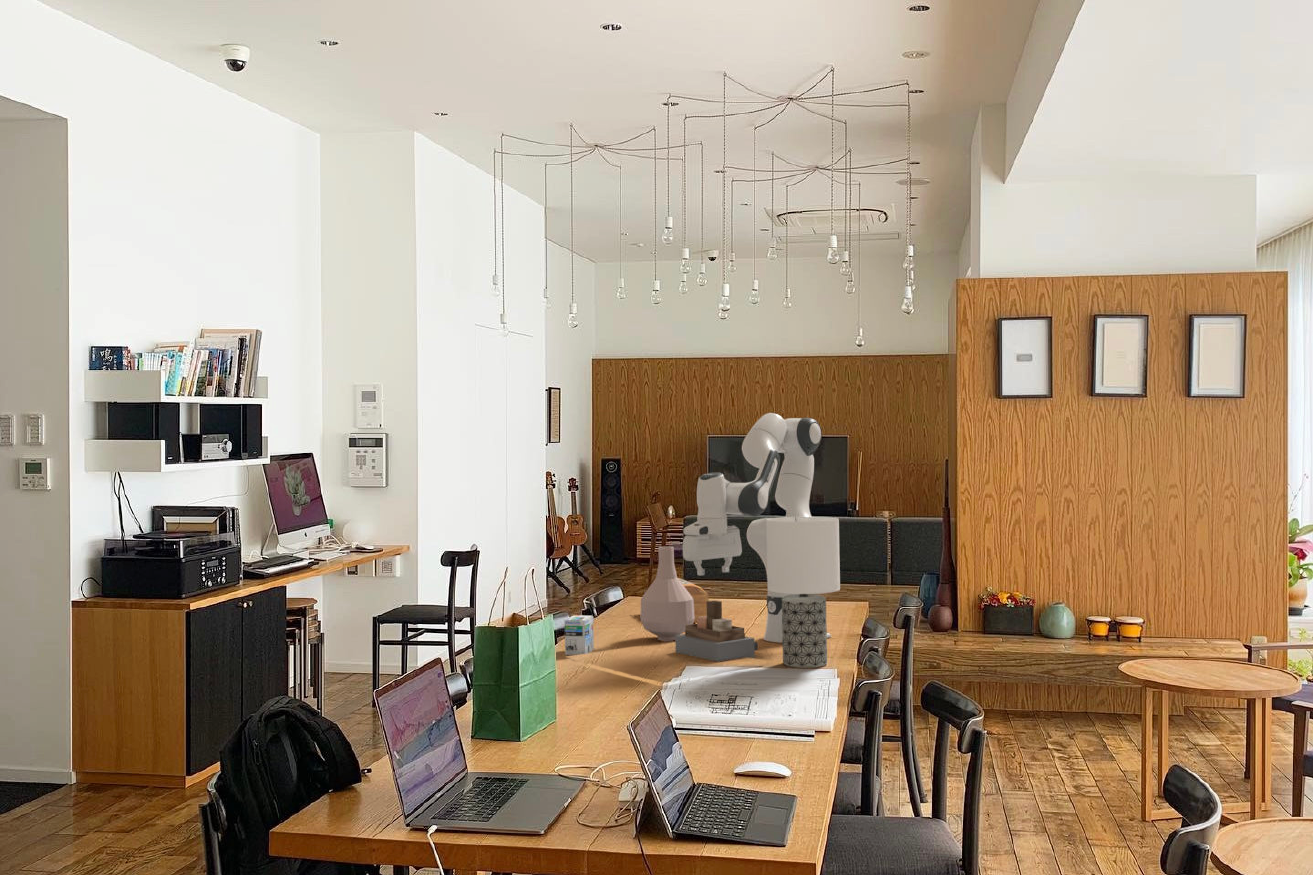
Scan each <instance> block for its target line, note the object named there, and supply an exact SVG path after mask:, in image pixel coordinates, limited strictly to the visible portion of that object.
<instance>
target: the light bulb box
mask: <svg viewBox="0 0 1313 875" xmlns="http://www.w3.org/2000/svg"><path fill="white" fill-rule="evenodd" d="M594 636H595V634H594V616H593V615H582V614H581V615H579V614H578V615H577V614H575V615H574V614H573V615H572V616H569V617H567V618H566V619H564V655H565V656H578V655H586V654H589V653H591V652H593V651H594V650H595V648H594V647H595V643H594V642H595V641H594V639H595V638H594ZM593 649H594V650H593ZM592 650H593V651H592Z"/></svg>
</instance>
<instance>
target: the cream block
mask: <svg viewBox="0 0 1313 875" xmlns="http://www.w3.org/2000/svg"><path fill="white" fill-rule="evenodd" d="M712 621H713V630H714V631H725V630H732V626H733V625H732V619H730V618H723V617H722V618H721V619H714V620H712Z"/></svg>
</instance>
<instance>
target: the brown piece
mask: <svg viewBox="0 0 1313 875" xmlns="http://www.w3.org/2000/svg"><path fill="white" fill-rule="evenodd" d="M722 604H723V603H722V601H720V600H709V601H707V629H704V628H699V627H697V624H691V625H686V626H685V627H686V630H685V632H684V634H685V635H686V636H691V637H696V638H701V639H705V640H710V641H715V642H723V641H730V640H737V639H743V638H745V637H746V633H745V628H744V627H741V626H735V625H732V630H725V631H714V630H713V621H712V620H714V619H721V618H723V610H722V609H723V607H722V606H723V605H722Z"/></svg>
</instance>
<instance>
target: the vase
mask: <svg viewBox="0 0 1313 875" xmlns="http://www.w3.org/2000/svg"><path fill="white" fill-rule="evenodd" d="M674 549H675V547H674V546H659V547H658V564H657V565H658V566H657V571H656V577H655V579H653V582H652V583H651V584H650V585H649V587H648V589H647V590H646V591H645V592H644V594H643V595H642V597H641V598H640V618H639V619H640V621H641V623H642V626H643V628H644V630H645V631H647V632H649V633H651V634H653V635H655V636H657V640H658V641H659V640H663V641H662V642H674V641H673V640H675V641H676V637H675V635H682V634H684V633H685V630H686V627H685V626H686V625H691V624H693V622H694V619H695V616H694V600H693V597H692V596H691V595H690V594H689V592H688V591H687V590H686V588H685V587H684V586H683V585H682V583H681V582H680V581H679V579H678V578H679V577H678V576H677V570H676V566H675V553H674V552H675V551H674Z"/></svg>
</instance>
